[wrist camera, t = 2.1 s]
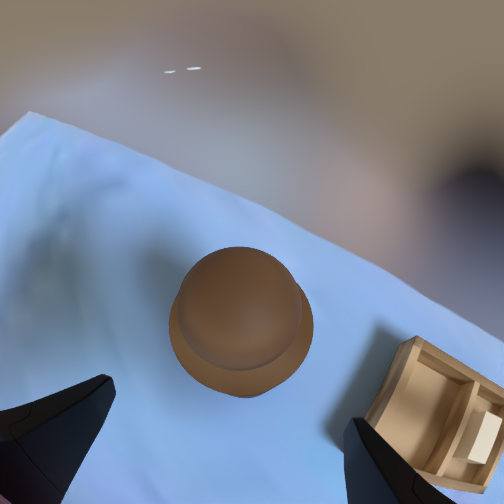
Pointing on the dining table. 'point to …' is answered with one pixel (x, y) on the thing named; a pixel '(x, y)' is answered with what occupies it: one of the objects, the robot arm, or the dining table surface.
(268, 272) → the pepper mill
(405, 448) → the caddy
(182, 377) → the dining table surface
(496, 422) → the block
